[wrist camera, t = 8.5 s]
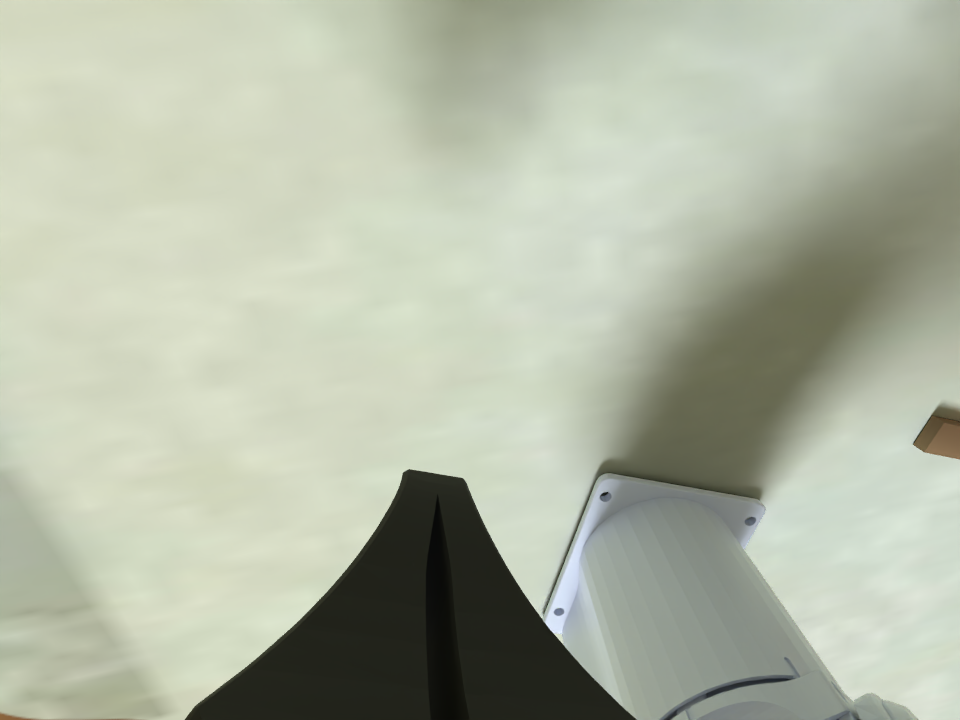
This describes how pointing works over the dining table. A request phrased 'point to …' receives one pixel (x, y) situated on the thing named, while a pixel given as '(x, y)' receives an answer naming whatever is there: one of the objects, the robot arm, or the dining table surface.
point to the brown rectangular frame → (940, 437)
